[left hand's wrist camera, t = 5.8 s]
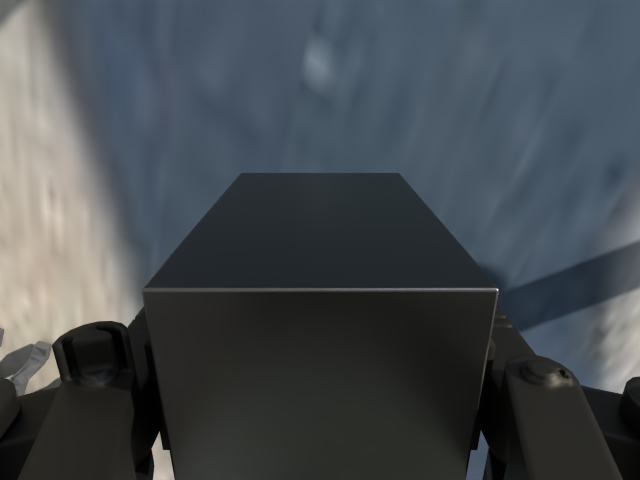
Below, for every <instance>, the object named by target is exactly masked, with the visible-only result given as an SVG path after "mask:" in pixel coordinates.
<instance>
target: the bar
mask: <svg viewBox="0 0 640 480" xmlns="http://www.w3.org/2000/svg"><path fill="white" fill-rule="evenodd" d="M498 293H499V290H498V287H497V286H496V285H495V284H494V283H493V281H492V280H491V279H490V278H489V277H488V276H487V274H486V273H485V272H484V271H483V270H482V269H481V268H480V266H479V265H478V264H477V263H476V262H475V261H474V259H473V258H472V257H471V256H470V255H469V254H468V252H467V251H466V250H465V249H464V248H463V247H462V246H461V244H460V243H459V242H458V241H457V240H456V239H455V237H454V236H453V235H452V234H451V233H450V232H449V230H448V229H447V228H446V227H445V226H444V225H443V224H442V222H441V221H440V220H439V219H438V218H437V217H436V215H435V214H434V213H433V212H432V211H431V210H430V208H429V207H428V206H427V205H426V204H425V203H424V202H423V200H422V199H421V198H420V197H419V196H418V195H417V193H416V192H415V191H414V190H413V189H412V188H411V186H410V185H409V184H408V183H407V182H406V181H405V179H404V178H403V177H402V176H401V175H400V174H399V173H241V174H240V175H239V176H238V177H237V179H236V180H235V181H234V182H233V183H232V184H231V186H230V187H229V188H228V189H227V190H226V191H225V193H224V194H223V195H222V196H221V197H220V198H219V200H218V201H217V202H216V203H215V204H214V205H213V207H212V208H211V209H210V210H209V211H208V212H207V213H206V215H205V216H204V217H203V218H202V219H201V220H200V222H199V223H198V224H197V225H196V226H195V227H194V229H193V230H192V231H191V232H190V233H189V234H188V236H187V237H186V238H185V239H184V240H183V241H182V243H181V244H180V245H179V246H178V247H177V248H176V249H175V251H174V252H173V253H172V254H171V255H170V256H169V258H168V259H167V260H166V261H165V262H164V263H163V265H162V266H161V267H160V268H159V269H158V270H157V272H156V273H155V274H154V275H153V276H152V277H151V279H150V280H149V281H148V282H147V283H146V284H145V286H144V287H143V288H142V296H143V302H144V307H145V313H146V319H147V324H148V330H149V336H150V341H151V347H152V353H153V358H154V364H155V370H156V376H157V381H158V387H159V393H160V398H161V404H162V410H163V415H164V421H165V427H166V432H167V438H168V444H169V449H170V455H171V461H172V467H173V472H174V478H175V480H466V475H467V469H468V463H469V458H470V452H471V446H472V441H473V435H474V429H475V424H476V418H477V412H478V407H479V401H480V395H481V390H482V384H483V378H484V373H485V367H486V361H487V356H488V350H489V344H490V339H491V333H492V327H493V322H494V316H495V310H496V305H497V299H498Z"/></svg>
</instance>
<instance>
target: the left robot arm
mask: <svg viewBox="0 0 640 480" xmlns="http://www.w3.org/2000/svg"><path fill="white" fill-rule="evenodd" d="M52 348H53V352H54V355H55V359H56V362H57V366H58V369H59V373H60V377H61V380H62V382H61V384H60V386H59V387H57V388H54V389H50V390H45V391H40V392H35V393H31V394H26V395H21V396H18V393H17V390H16V387H15V384H14V383H12V382H11V381H10V380H8V379H2V378H0V480H153V473H154V460H153V454H152V446H153V444H154V442H155V440H156V438H157V435H158V433H159V431H160V435H161V441H162V446H163V450H170V449H169V444H168V438H167V432H166V427H165V421H164V415H163V410H162V404H161V398H160V393H159V387H158V381H157V376H156V370H155V364H154V358H153V353H152V347H151V341H150V336H149V330H148V324H147V319H146V313H145V307H143V308H142V309H141V311H140V312H139V313H138V314H137V316H136V317H135V320H133V321H132V322H131V323H130V325H129V326H128V328H127V327H126V326H125V325H123V324H122V323H118V322H114V321H100V322H94V323H90V324H85V325H82V326H80V327H77V328H75V329H72V330H70V331H68V332H67V333H65V334H63V335H62V336H60V337H59V338H58V339H57V340H56V341H55V342H54V343H53V345H52ZM480 431H482V433H483V435H484V437H485V439H486V441H487V444H488V446H489V449H488V454H487V459H486V465H485V470H484V475H483V480H640V377H633V378H632V379H630V380H629V381H628V382H627V383H626V386H625V389H624V392H623V394H618V393H614V392H609V391H604V390H599V389H594V388H589V387H586V386H582V385H580V383H579V381H578V380H577V378H576V377H575V376H574V374H573V373H572V372H571V371H570V370H568V369H567V368H566V367H564V366H563V365H561V364H560V363H557V362H555V361H553V360H551V359H549V358H545V357H541V356H537V355H536V354H535V353H534V352H533V350H532V349H531V348H530V347H529V345H528V344H527V343H526V341H525V340H524V339H523V338H522V336H521V335H520V334H519V333H518V331H517V330H516V329H515V328H514V327H513V325H512V324H511V322H510V321H509V320H508V319H507V318H505V315H504V314H503V312H502V311H501V310H500V309H499V307H498V306H497V305H496V310H495V316H494V322H493V327H492V333H491V339H490V344H489V350H488V356H487V361H486V367H485V373H484V378H483V384H482V390H481V395H480V401H479V407H478V412H477V418H476V424H475V429H474V435H473V441H472V446H471V450H477V448H478V442H479V437H480Z"/></svg>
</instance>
